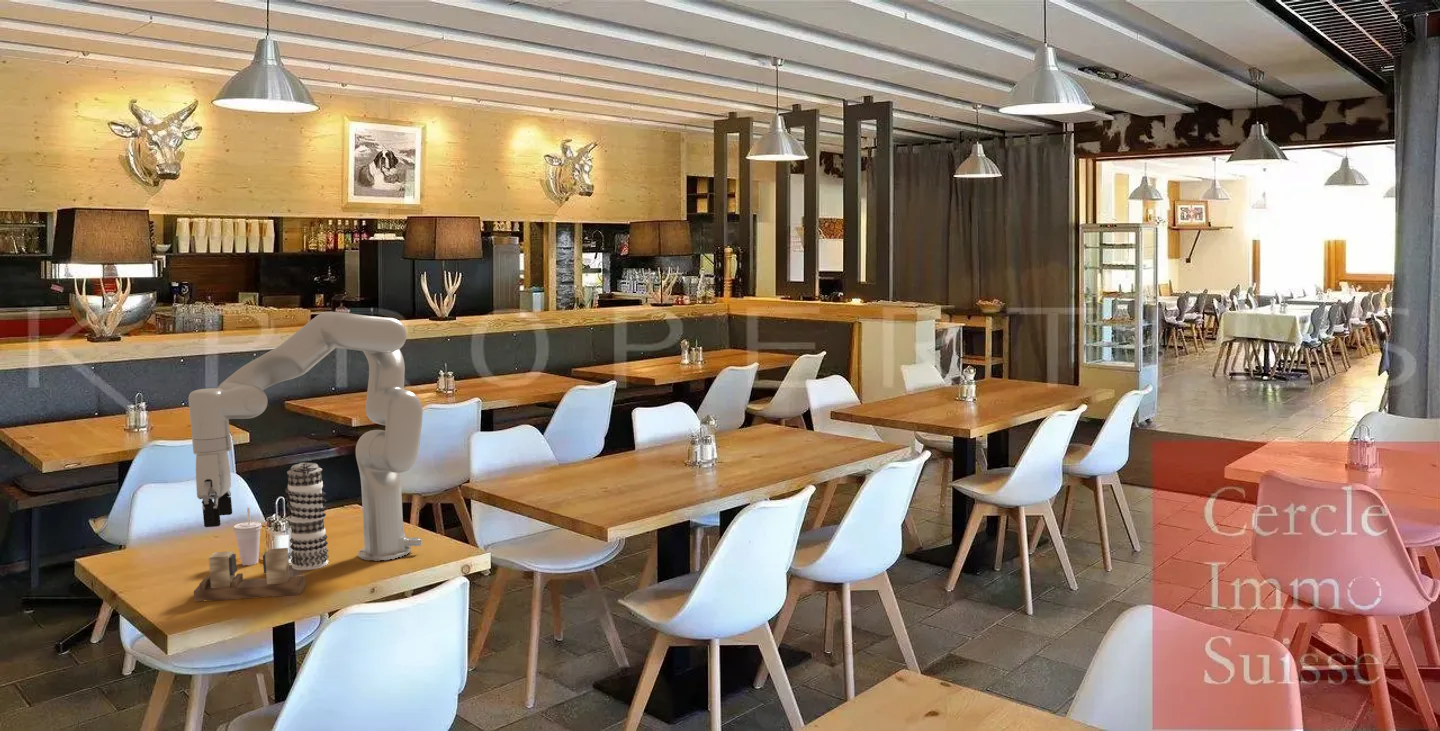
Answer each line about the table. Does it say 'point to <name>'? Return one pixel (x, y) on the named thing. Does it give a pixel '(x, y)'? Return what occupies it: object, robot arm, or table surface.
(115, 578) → the table surface
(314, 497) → the decorative candle
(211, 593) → the brown notched block
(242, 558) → the smoothie
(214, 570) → the beige boxy piece
